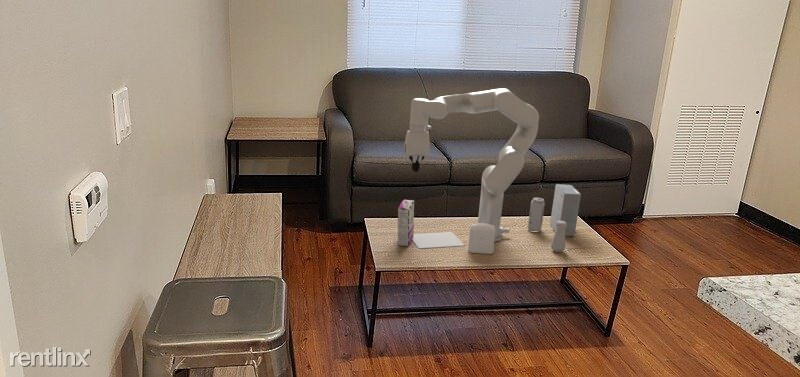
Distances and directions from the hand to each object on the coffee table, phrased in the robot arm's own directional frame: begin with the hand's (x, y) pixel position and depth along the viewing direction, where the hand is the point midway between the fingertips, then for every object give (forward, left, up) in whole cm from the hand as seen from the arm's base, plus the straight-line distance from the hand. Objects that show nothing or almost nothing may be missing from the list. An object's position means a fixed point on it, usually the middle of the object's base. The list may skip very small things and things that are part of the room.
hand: (415, 171), depth 240 cm
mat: (-7, +12, -27) cm, 30 cm away
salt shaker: (-54, +30, -27) cm, 68 cm away
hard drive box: (-69, +9, -27) cm, 75 cm away
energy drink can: (-56, +7, -27) cm, 63 cm away
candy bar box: (+6, +11, -27) cm, 30 cm away
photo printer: (-21, +26, -27) cm, 43 cm away
